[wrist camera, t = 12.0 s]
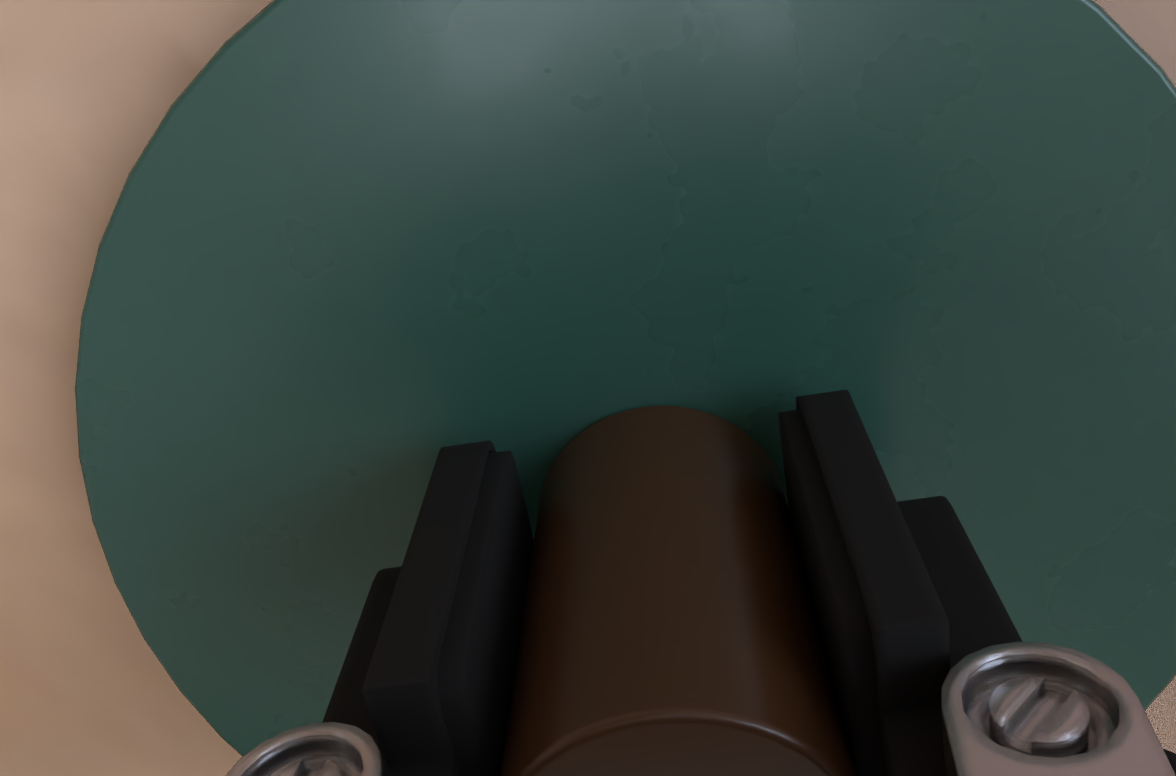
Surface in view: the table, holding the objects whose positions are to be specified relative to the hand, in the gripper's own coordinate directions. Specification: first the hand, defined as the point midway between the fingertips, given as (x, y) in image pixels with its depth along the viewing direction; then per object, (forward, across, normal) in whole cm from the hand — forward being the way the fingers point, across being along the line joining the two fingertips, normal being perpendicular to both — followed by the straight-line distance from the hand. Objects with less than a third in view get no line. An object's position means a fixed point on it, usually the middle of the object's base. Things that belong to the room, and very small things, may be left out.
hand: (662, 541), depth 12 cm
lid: (+1, 0, 0) cm, 1 cm away
